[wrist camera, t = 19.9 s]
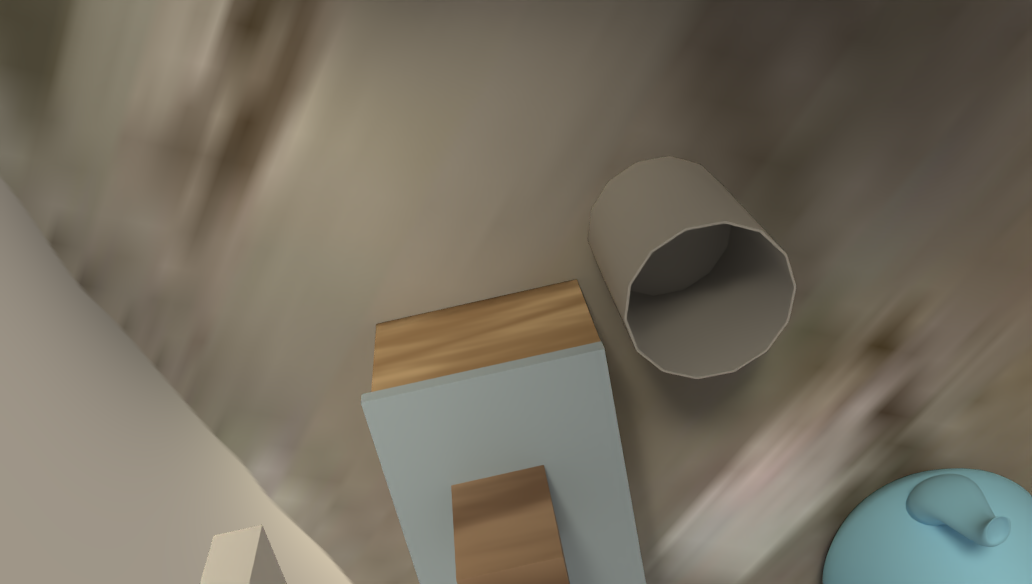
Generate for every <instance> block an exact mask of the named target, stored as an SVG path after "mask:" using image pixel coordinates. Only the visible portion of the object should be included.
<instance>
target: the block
mask: <svg viewBox="0 0 1032 584" xmlns="http://www.w3.org/2000/svg"><path fill="white" fill-rule="evenodd" d="M451 492H452V511H453V529H454V547H455V565H456V581H457V584H570V581H569V576H568V571H567V566H566V562H565V557H564V552H563V547H562V543H561V538H560V533H559V529H558V525H557V520H556V516H555V511H554V507H553V503H552V498H551V494H550V490H549V485H548V481H547V477H546V472H545V468H544V465H540V466H536V467H531V468H527V469H522V470H518V471H513V472H509V473H505V474H500V475H496V476H491V477H487V478H482V479H478V480H473V481H469V482H464V483H460V484H455V485H451Z"/></svg>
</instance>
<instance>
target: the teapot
mask: <svg viewBox="0 0 1032 584" xmlns="http://www.w3.org/2000/svg"><path fill="white" fill-rule="evenodd" d="M823 584H1032V496H1031V495H1030V494H1029V492H1027V491H1026V490H1025V489H1024V488H1022V487H1021V486H1020V485H1018V484H1017V483H1015V482H1013V481H1011V480H1009V479H1007V478H1005V477H1002V476H1000V475H997V474H995V473H992V472H987V471H983V470H976V469H963V468H956V469H938V470H930V471H923V472H919V473H915V474H911V475H908V476H905V477H903V478H900V479H897V480H895V481H893V482H891V483H889V484H886V485H885V486H883V487H881V488H880V489H878V490H876V491H875V492H873V493H872V494H871V495H869V496H868V497H866V498H865V499H864V500H863V501H862V502H861V503H860V504H858V505H857V506H856V507H855V509H854V510H853V511H852V512H851V513H850V514H849V515H848V517H847V518H846V519H845V521H844V522H843V524H842V525H841V527H840V528H839V530H838V532H837V534H836V535H835V537H834V539H833V541H832V544H831V546H830V549H829V551H828V554H827V557H826V560H825V564H824V569H823Z"/></svg>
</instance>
